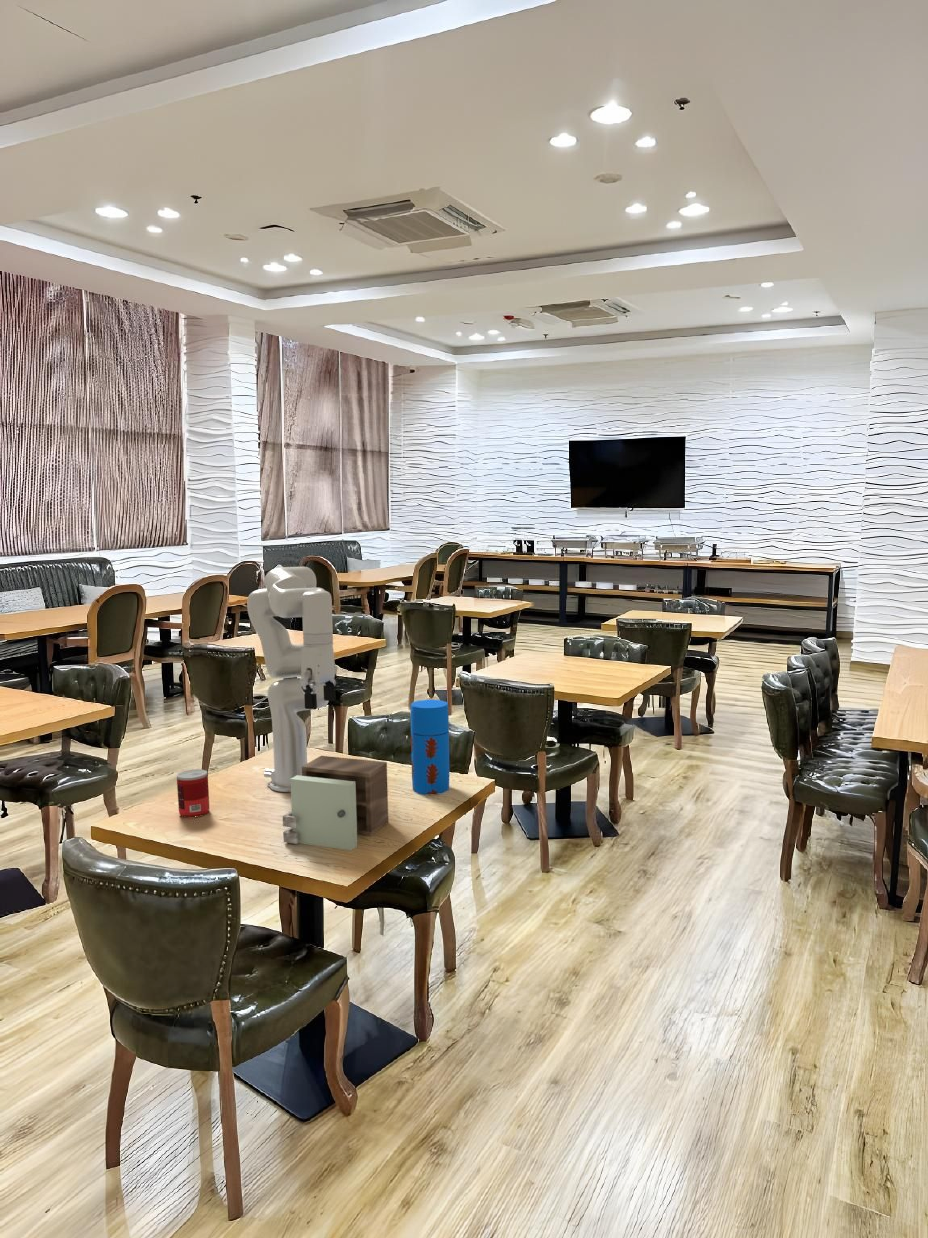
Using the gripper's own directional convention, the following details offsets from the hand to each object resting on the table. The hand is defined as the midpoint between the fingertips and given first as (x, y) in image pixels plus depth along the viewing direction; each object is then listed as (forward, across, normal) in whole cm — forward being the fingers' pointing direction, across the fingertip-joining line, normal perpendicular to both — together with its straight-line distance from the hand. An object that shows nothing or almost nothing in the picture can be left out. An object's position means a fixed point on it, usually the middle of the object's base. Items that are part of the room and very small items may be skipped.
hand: (320, 704), depth 224 cm
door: (+30, +16, +9) cm, 35 cm away
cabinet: (+30, +9, +8) cm, 32 cm away
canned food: (+31, +8, -35) cm, 47 cm away
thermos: (+31, -30, +18) cm, 46 cm away
